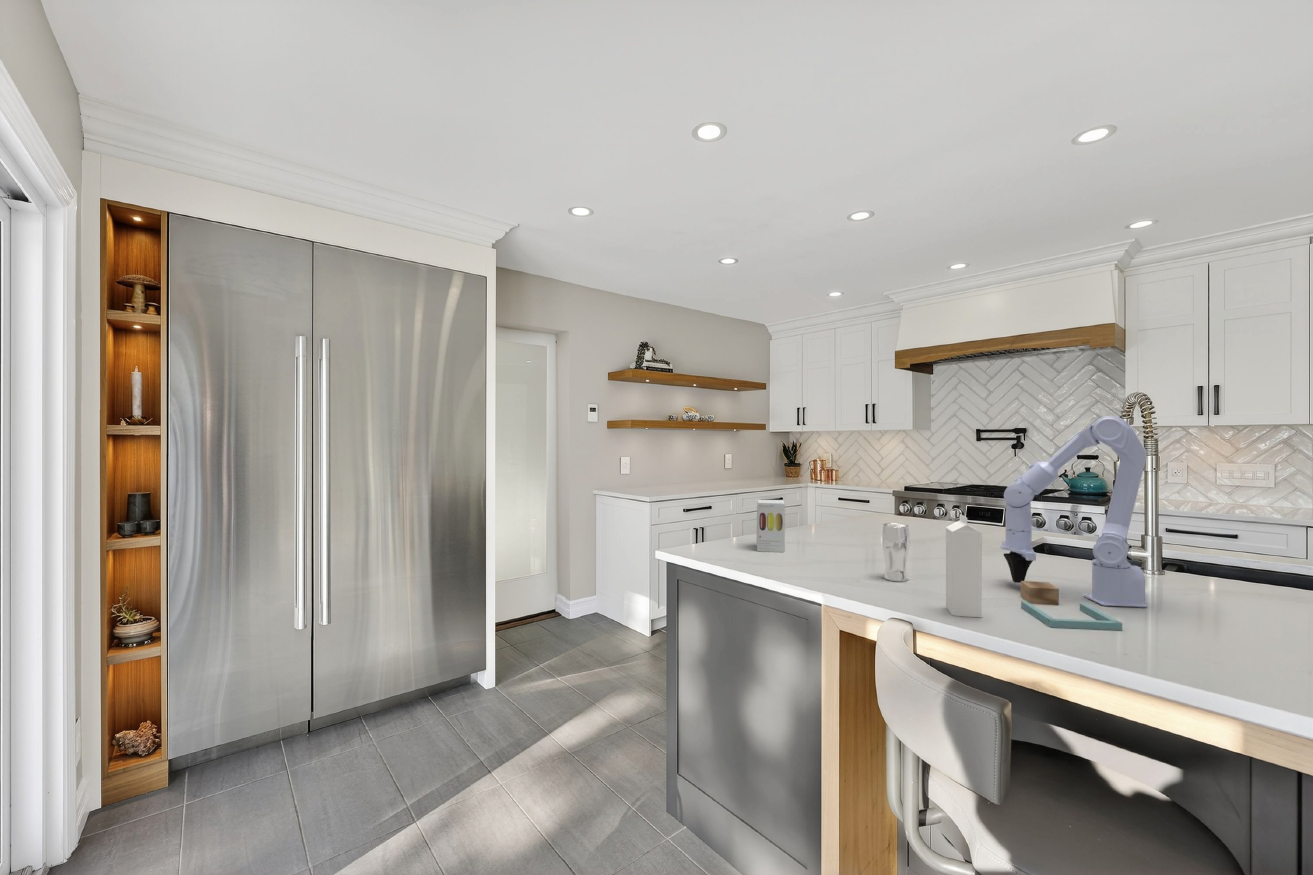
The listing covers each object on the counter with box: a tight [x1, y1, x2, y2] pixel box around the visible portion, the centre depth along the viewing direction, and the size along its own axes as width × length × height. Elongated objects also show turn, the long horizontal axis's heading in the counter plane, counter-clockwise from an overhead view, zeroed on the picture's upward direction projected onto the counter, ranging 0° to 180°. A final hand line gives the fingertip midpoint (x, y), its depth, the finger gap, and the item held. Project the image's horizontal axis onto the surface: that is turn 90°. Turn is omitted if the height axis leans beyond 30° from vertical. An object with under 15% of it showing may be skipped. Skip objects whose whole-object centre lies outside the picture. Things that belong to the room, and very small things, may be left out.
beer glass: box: [881, 522, 911, 583], centre depth 158 cm, size 7×7×15 cm
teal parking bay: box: [1020, 600, 1123, 631], centre depth 125 cm, size 13×13×2 cm
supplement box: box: [756, 499, 786, 553], centre depth 198 cm, size 10×9×17 cm
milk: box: [945, 513, 983, 618], centre depth 129 cm, size 6×6×22 cm
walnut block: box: [1020, 580, 1060, 606], centre depth 138 cm, size 6×6×4 cm
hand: (1018, 582), depth 149 cm, fingers closed
